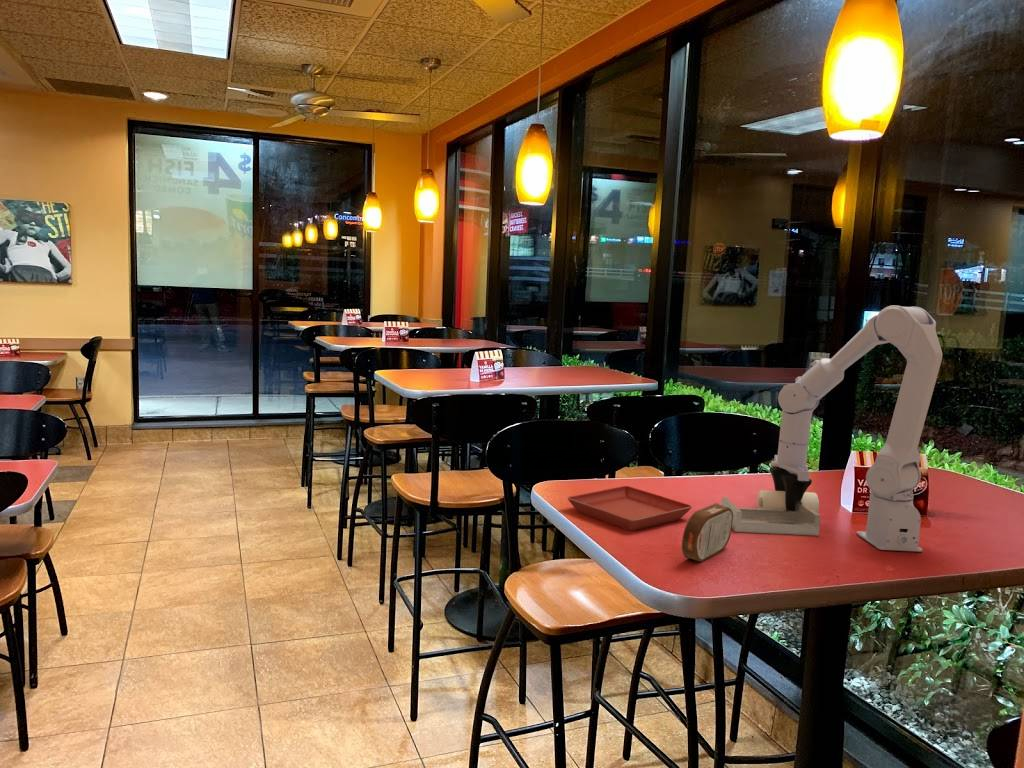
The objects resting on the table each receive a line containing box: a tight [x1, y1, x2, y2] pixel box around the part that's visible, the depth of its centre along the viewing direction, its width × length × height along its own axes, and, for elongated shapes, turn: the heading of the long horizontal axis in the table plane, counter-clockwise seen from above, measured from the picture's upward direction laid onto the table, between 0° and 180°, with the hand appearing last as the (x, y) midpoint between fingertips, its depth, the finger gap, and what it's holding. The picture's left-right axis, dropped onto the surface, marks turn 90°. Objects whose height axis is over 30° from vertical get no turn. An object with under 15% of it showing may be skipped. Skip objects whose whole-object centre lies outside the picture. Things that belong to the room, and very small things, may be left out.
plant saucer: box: [567, 485, 693, 531], centre depth 153 cm, size 18×18×3 cm
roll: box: [756, 489, 820, 514], centre depth 159 cm, size 5×12×5 cm, turn 90°
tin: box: [681, 503, 733, 563], centre depth 131 cm, size 15×3×8 cm, turn 141°
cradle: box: [720, 496, 821, 537], centre depth 150 cm, size 10×16×4 cm, turn 91°
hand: (786, 506), depth 159 cm, fingers open, 5 cm apart
